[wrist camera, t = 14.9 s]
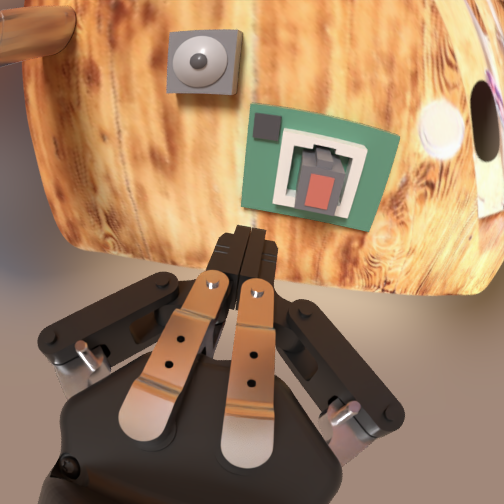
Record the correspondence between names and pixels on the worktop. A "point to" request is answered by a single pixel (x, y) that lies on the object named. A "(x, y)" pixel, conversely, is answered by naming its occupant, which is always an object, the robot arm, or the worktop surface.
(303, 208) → the keyed plug
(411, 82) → the worktop surface
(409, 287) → the worktop surface
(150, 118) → the worktop surface
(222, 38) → the grey square domed block
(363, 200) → the circuit board
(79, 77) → the worktop surface
